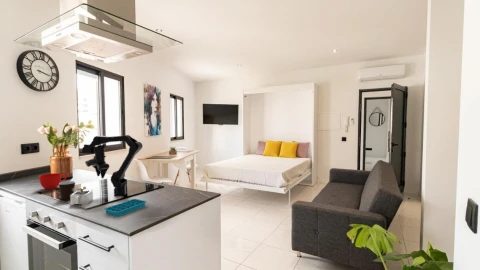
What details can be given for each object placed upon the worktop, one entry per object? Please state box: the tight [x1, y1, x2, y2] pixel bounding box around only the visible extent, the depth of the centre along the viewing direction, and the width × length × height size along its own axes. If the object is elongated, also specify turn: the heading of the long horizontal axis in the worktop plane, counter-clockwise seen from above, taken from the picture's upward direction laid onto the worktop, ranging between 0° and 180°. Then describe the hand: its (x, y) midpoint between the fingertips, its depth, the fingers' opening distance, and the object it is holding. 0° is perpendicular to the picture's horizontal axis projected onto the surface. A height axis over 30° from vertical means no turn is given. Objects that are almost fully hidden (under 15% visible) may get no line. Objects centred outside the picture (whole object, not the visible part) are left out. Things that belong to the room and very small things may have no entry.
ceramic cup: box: [38, 172, 68, 190], centre depth 182 cm, size 13×17×10 cm
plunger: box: [76, 186, 87, 194], centre depth 149 cm, size 7×7×8 cm
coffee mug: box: [58, 180, 76, 200], centre depth 159 cm, size 12×9×10 cm
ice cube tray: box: [103, 198, 147, 218], centre depth 136 cm, size 12×20×3 cm, turn 153°
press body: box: [69, 189, 94, 206], centre depth 148 cm, size 9×12×6 cm
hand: (100, 177), depth 164 cm, fingers open, 9 cm apart
